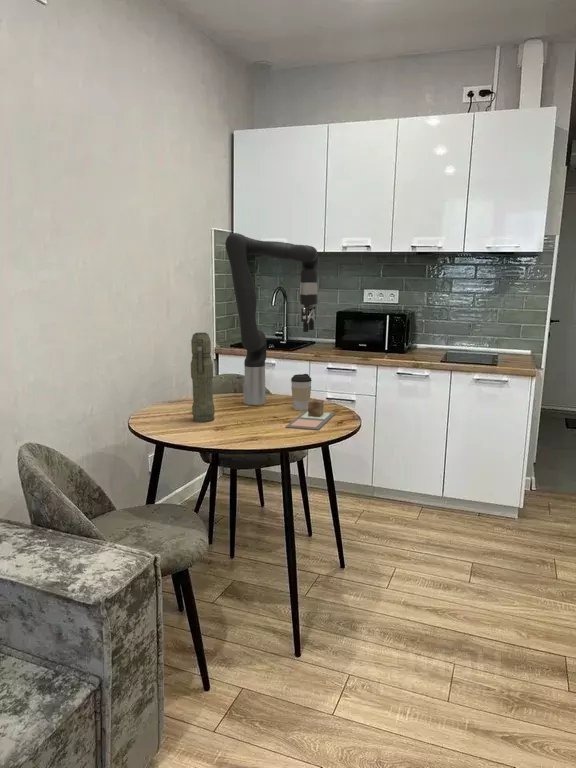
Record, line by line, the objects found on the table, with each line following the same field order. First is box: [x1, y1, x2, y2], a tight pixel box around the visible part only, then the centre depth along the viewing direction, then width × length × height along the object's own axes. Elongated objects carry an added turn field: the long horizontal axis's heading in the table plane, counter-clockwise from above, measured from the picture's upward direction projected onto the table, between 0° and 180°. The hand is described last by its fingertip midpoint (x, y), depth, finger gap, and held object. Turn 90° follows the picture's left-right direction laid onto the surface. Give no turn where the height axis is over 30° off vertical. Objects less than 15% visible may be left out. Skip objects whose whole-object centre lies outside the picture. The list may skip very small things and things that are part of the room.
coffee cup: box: [290, 373, 312, 412], centre depth 249 cm, size 9×9×15 cm
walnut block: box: [307, 398, 324, 417], centre depth 235 cm, size 5×5×6 cm
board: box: [285, 410, 336, 431], centre depth 229 cm, size 13×26×1 cm, turn 162°
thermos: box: [190, 332, 216, 423], centre depth 229 cm, size 9×12×35 cm
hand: (308, 330), depth 251 cm, fingers open, 8 cm apart
